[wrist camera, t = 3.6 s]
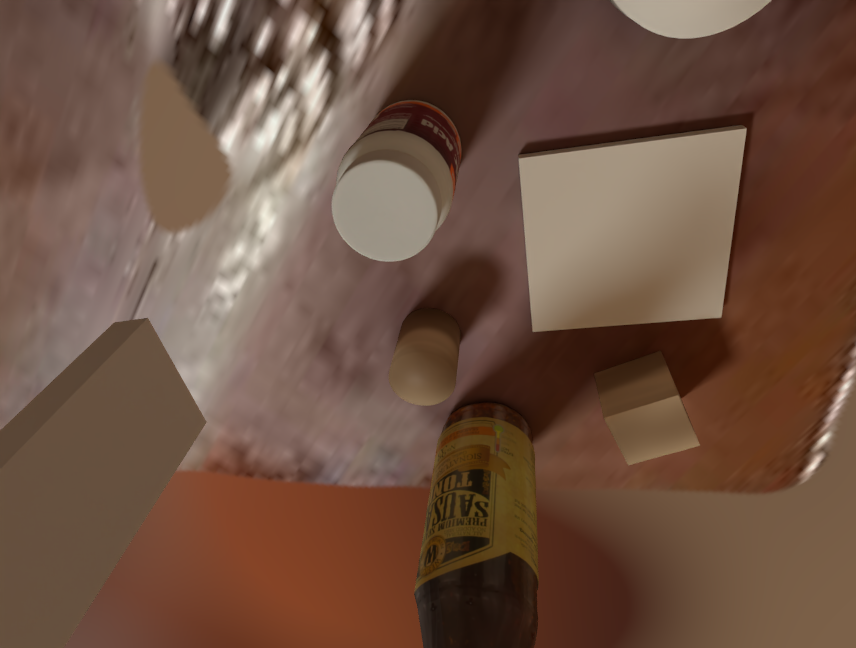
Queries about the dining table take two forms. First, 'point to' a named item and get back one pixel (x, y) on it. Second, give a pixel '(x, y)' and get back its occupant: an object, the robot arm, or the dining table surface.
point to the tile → (631, 229)
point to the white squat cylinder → (688, 15)
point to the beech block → (644, 409)
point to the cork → (426, 357)
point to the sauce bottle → (480, 534)
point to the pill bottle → (397, 181)
